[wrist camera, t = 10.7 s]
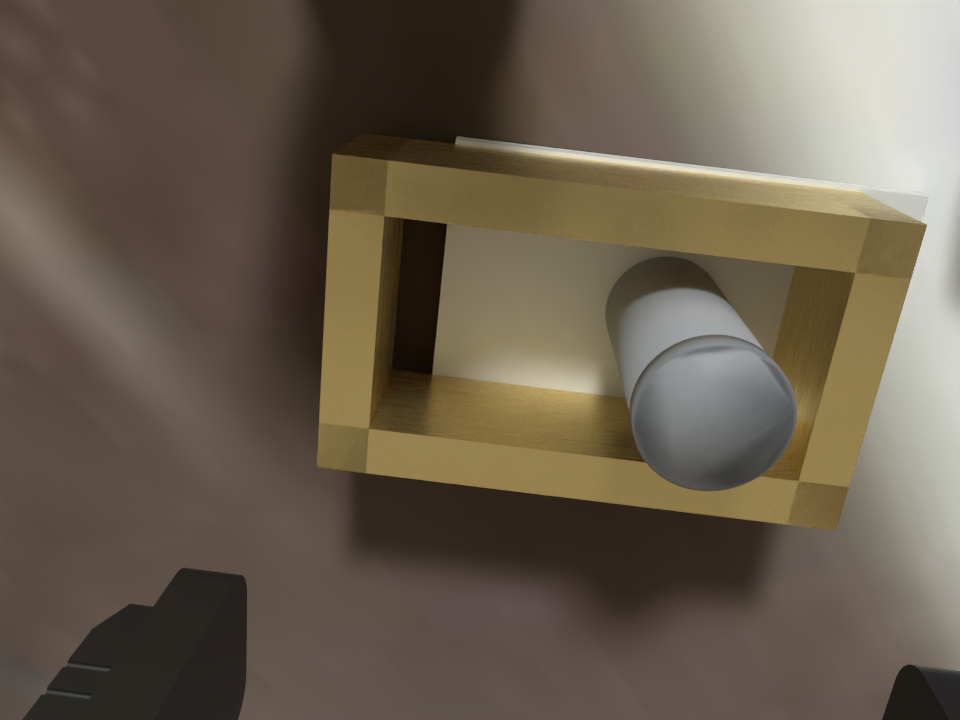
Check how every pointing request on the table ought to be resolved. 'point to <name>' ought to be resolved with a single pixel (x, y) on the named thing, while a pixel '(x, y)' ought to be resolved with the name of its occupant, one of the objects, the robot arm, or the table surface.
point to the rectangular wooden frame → (590, 417)
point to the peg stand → (635, 331)
